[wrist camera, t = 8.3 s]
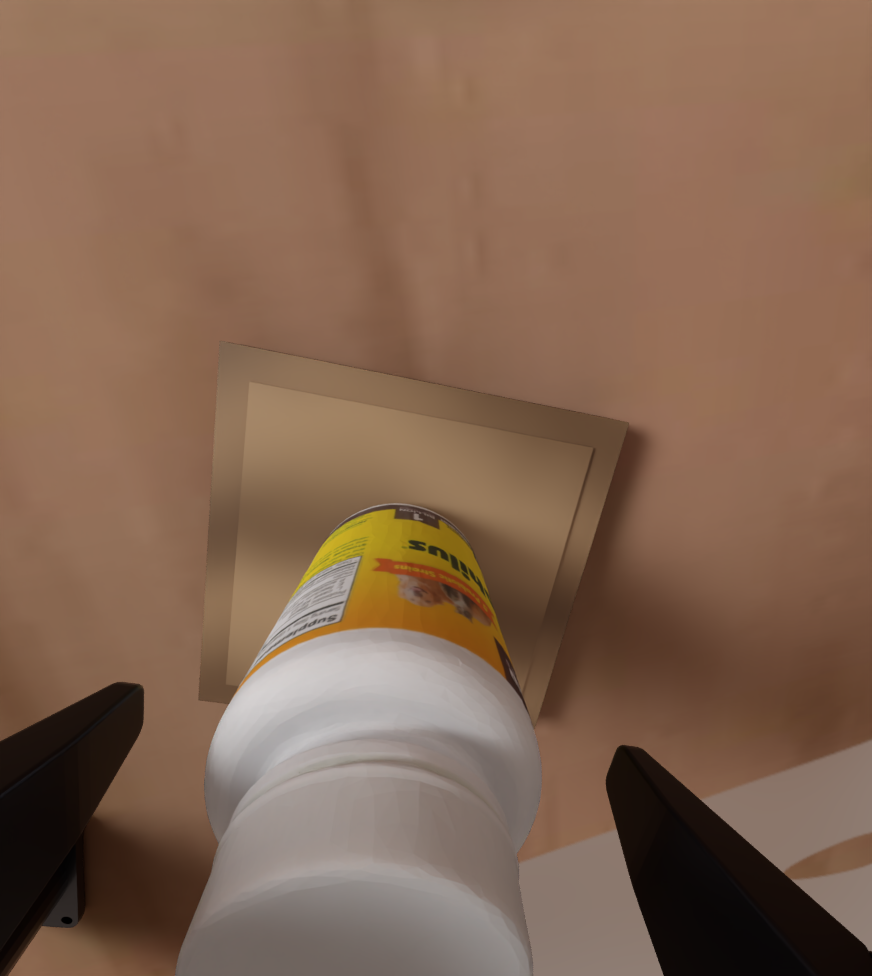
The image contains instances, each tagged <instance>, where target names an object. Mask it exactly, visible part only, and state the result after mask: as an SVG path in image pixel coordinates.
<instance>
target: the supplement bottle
mask: <svg viewBox="0 0 872 976" xmlns="http://www.w3.org/2000/svg"><path fill="white" fill-rule="evenodd" d="M541 786H542V770H541V758H540V753H539V748H538V743H537V739H536V736H535V732H534V728H533V725H532V721H531V718H530V715H529V712H528V709H527V706H526V703H525V701H524V698H523V695H522V692H521V689H520V686H519V683H518V680H517V677H516V674H515V671H514V668H513V665H512V662H511V659H510V656H509V653H508V650H507V647H506V644H505V641H504V638H503V635H502V632H501V629H500V626H499V623H498V620H497V617H496V614H495V611H494V608H493V604H492V602H491V599H490V596H489V592H488V590H487V587H486V584H485V581H484V578H483V575H482V571H481V569H480V566H479V563H478V561H477V558H476V555H475V553H474V551H473V549H472V547H471V545H470V544H469V542H468V540H467V539H466V537H465V536H464V535H463V534H462V532H461V531H460V530H459V529H458V528H457V527H456V526H455V525H453V524H452V523H451V522H450V521H449V520H447V519H446V518H444V517H442V516H441V515H439V514H437V513H435V512H433V511H431V510H428V509H426V508H423V507H420V506H415V505H410V504H402V503H391V504H383V505H377V506H373V507H370V508H367V509H364V510H362V511H359V512H357V513H356V514H354V515H352V516H350V517H349V518H347V519H346V520H344V521H343V522H342V523H340V524H339V525H338V526H337V527H336V528H335V529H334V530H333V531H332V532H331V533H330V535H329V536H328V537H327V538H326V540H325V541H324V543H323V544H322V546H321V547H320V549H319V550H318V552H317V554H316V556H315V558H314V559H313V561H312V563H311V565H310V566H309V568H308V570H307V572H306V573H305V575H304V576H303V578H302V580H301V582H300V583H299V585H298V587H297V588H296V590H295V592H294V593H293V595H292V597H291V598H290V600H289V602H288V604H287V605H286V607H285V609H284V611H283V612H282V614H281V616H280V618H279V619H278V621H277V623H276V624H275V626H274V628H273V629H272V631H271V633H270V635H269V636H268V638H267V640H266V641H265V643H264V645H263V646H262V648H261V650H260V651H259V653H258V655H257V657H256V659H255V660H254V662H253V664H252V665H251V667H250V669H249V671H248V672H247V674H246V675H245V677H244V679H243V680H242V682H241V684H240V685H239V687H238V689H237V691H236V693H235V694H234V696H233V698H232V700H231V701H230V703H229V705H228V707H227V709H226V710H225V712H224V715H223V717H222V719H221V720H220V722H219V724H218V727H217V729H216V732H215V734H214V737H213V739H212V742H211V746H210V749H209V753H208V756H207V761H206V769H205V780H204V791H205V803H206V809H207V814H208V818H209V821H210V824H211V827H212V830H213V832H214V834H215V837H216V839H217V841H218V844H219V845H218V848H217V851H216V854H215V857H214V860H213V865H212V871H211V874H210V877H209V879H208V882H207V884H206V887H205V889H204V892H203V894H202V897H201V899H200V902H199V904H198V907H197V909H196V912H195V914H194V917H193V919H192V922H191V924H190V927H189V929H188V932H187V934H186V937H185V939H184V942H183V944H182V947H181V950H180V953H179V957H178V961H177V966H176V973H175V976H533V960H532V952H531V946H530V941H529V936H528V931H527V926H526V920H525V915H524V910H523V904H522V898H521V892H520V886H519V863H518V858H517V853H518V851H519V850H520V848H521V847H522V845H523V844H524V842H525V840H526V838H527V836H528V834H529V832H530V830H531V827H532V825H533V822H534V820H535V817H536V813H537V810H538V806H539V802H540V795H541Z"/></svg>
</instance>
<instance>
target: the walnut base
mask: <svg viewBox="0 0 872 976" xmlns="http://www.w3.org/2000/svg"><path fill="white" fill-rule="evenodd" d="M628 425H629V423H628V422H623V421H619V420H614V419H610V418H605V417H600V416H595V415H590V414H585V413H580V412H575V411H570V410H565V409H560V408H555V407H550V406H545V405H540V404H535V403H530V402H525V401H520V400H515V399H510V398H505V397H500V396H495V395H490V394H485V393H480V392H475V391H470V390H465V389H460V388H455V387H450V386H445V385H440V384H435V383H430V382H425V381H420V380H415V379H410V378H405V377H400V376H395V375H390V374H385V373H380V372H375V371H370V370H365V369H360V368H355V367H350V366H345V365H340V364H335V363H330V362H325V361H320V360H315V359H310V358H305V357H300V356H295V355H290V354H285V353H280V352H275V351H270V350H265V349H260V348H255V347H250V346H245V345H240V344H234V343H229V342H223V341H220V345H219V362H218V379H217V396H216V413H215V429H214V446H213V463H212V480H211V497H210V514H209V531H208V548H207V565H206V582H205V598H204V615H203V632H202V649H201V666H200V683H199V700H200V701H208V702H217V703H225V704H229V703H230V701H231V700H232V698H233V696H234V694H235V693H236V691H237V689H238V687H239V685H240V684H241V682H242V680H243V679H244V677H245V675H246V674H247V672H248V671H249V669H250V667H251V665H252V664H253V662H254V660H255V659H256V657H257V655H258V653H259V651H260V650H261V648H262V646H263V645H264V643H265V641H266V640H267V638H268V636H269V635H270V633H271V631H272V629H273V628H274V626H275V624H276V623H277V621H278V619H279V618H280V616H281V614H282V612H283V611H284V609H285V607H286V605H287V604H288V602H289V600H290V598H291V597H292V595H293V593H294V592H295V590H296V588H297V587H298V585H299V583H300V582H301V580H302V578H303V576H304V575H305V573H306V572H307V570H308V568H309V566H310V565H311V563H312V561H313V559H314V558H315V556H316V554H317V552H318V550H319V549H320V547H321V546H322V544H323V543H324V541H325V540H326V538H327V537H328V536H329V535H330V533H331V532H332V531H333V530H334V529H335V528H336V527H337V526H338V525H339V524H340V523H342V522H343V521H344V520H346V519H347V518H349V517H350V516H352V515H354V514H356V513H357V512H359V511H362V510H364V509H367V508H370V507H373V506H377V505H383V504H391V503H402V504H410V505H415V506H420V507H423V508H426V509H428V510H431V511H433V512H435V513H437V514H439V515H441V516H442V517H444V518H446V519H447V520H449V521H450V522H451V523H452V524H453V525H455V526H456V527H457V528H458V529H459V530H460V531H461V532H462V534H463V535H464V536H465V537H466V539H467V540H468V542H469V544H470V545H471V547H472V549H473V551H474V553H475V555H476V558H477V561H478V563H479V566H480V569H481V571H482V575H483V578H484V581H485V584H486V587H487V590H488V592H489V596H490V599H491V602H492V604H493V608H494V611H495V614H496V617H497V620H498V623H499V626H500V629H501V632H502V635H503V638H504V641H505V644H506V647H507V650H508V653H509V656H510V659H511V662H512V665H513V668H514V671H515V674H516V677H517V680H518V683H519V686H520V689H521V692H522V695H523V698H524V701H525V703H526V706H527V709H528V712H529V715H530V718H531V721H532V725H533V728H534V729H535V726H536V722H537V719H538V716H539V713H540V709H541V706H542V703H543V700H544V696H545V693H546V690H547V687H548V684H549V680H550V677H551V674H552V671H553V667H554V664H555V661H556V658H557V655H558V651H559V648H560V645H561V642H562V638H563V635H564V632H565V629H566V625H567V622H568V619H569V616H570V613H571V609H572V606H573V603H574V600H575V596H576V593H577V590H578V587H579V584H580V580H581V577H582V574H583V571H584V567H585V564H586V561H587V558H588V554H589V551H590V548H591V545H592V542H593V538H594V535H595V532H596V529H597V525H598V522H599V519H600V516H601V512H602V509H603V506H604V503H605V500H606V496H607V493H608V490H609V487H610V483H611V480H612V477H613V474H614V471H615V467H616V464H617V461H618V458H619V454H620V451H621V448H622V445H623V441H624V438H625V435H626V432H627V429H628Z"/></svg>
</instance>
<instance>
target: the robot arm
mask: <svg viewBox="0 0 872 976" xmlns="http://www.w3.org/2000/svg"><path fill="white" fill-rule="evenodd" d="M143 718H144V689H143V687H142V685H140V684H135V683H127V682H116V683H114V684H111V685H109V686H107V687H105V688H103V689H102V690H100V691H98V692H96V693H94V694H92V695H90V696H88V697H86V698H84V699H82V700H80V701H78V702H76V703H74V704H72V705H70V706H68V707H66V708H64V709H62V710H61V711H59V712H57V713H55V714H53V715H51V716H49V717H47V718H45V719H43V720H41V721H39V722H37V723H35V724H33V725H31V726H29V727H27V728H25V729H23V730H21V731H20V732H18V733H16V734H14V735H12V736H10V737H8V738H6V739H4V740H2V741H0V976H8V975H9V973H10V972H11V970H12V969H13V967H14V966H15V964H16V963H17V962H18V960H19V959H20V957H21V956H22V954H23V953H24V951H25V950H26V948H27V947H28V945H29V944H30V942H31V941H32V940H33V938H34V937H35V935H36V934H37V932H38V931H39V929H40V928H41V926H50V927H64V928H71V927H74V926H76V925H77V924H78V922H79V920H80V919H81V917H82V916H83V914H84V911H85V903H84V867H83V830H84V828H85V827H86V825H87V823H88V822H89V820H90V819H91V817H92V815H93V813H94V812H95V810H96V808H97V807H98V805H99V803H100V801H101V800H102V798H103V796H104V795H105V793H106V791H107V789H108V788H109V786H110V784H111V783H112V781H113V779H114V777H115V776H116V774H117V772H118V770H119V769H120V767H121V765H122V764H123V762H124V760H125V758H126V757H127V755H128V753H129V752H130V750H131V748H132V746H133V745H134V743H135V741H136V740H137V738H138V736H139V734H140V732H141V729H142V726H143ZM606 790H607V794H608V798H609V801H610V805H611V809H612V813H613V816H614V820H615V824H616V828H617V831H618V835H619V839H620V843H621V846H622V850H623V854H624V858H625V861H626V865H627V868H628V872H629V876H630V879H631V882H632V886H633V889H634V892H635V895H636V898H637V901H638V904H639V907H640V910H641V912H642V915H643V918H644V921H645V924H646V926H647V929H648V932H649V935H650V938H651V941H652V944H653V946H654V949H655V952H656V955H657V958H658V961H659V963H660V966H661V969H662V972H663V975H664V976H872V951H868V949H867V947H866V946H865V945H864V944H863V943H862V942H861V941H860V940H859V939H857V938H856V937H855V936H854V935H853V934H852V933H851V932H850V931H848V930H847V929H846V928H845V927H844V926H843V925H842V924H841V923H839V922H838V921H837V920H836V919H835V918H834V917H833V916H831V915H830V914H829V913H828V912H827V911H826V910H825V909H824V908H822V907H821V906H820V905H819V904H818V903H817V902H815V901H814V900H813V899H812V898H811V897H810V896H809V895H808V894H807V893H805V892H804V891H803V890H802V889H801V888H800V887H799V886H797V885H796V884H795V883H794V882H793V881H792V880H791V879H790V878H788V877H787V876H786V875H785V874H784V873H783V872H782V871H780V870H779V869H778V868H777V867H776V866H775V865H774V864H772V863H771V862H770V861H769V860H768V859H767V858H766V857H765V856H763V855H762V854H761V853H760V852H759V851H758V850H757V849H755V848H754V847H753V846H752V845H751V844H750V843H749V842H747V841H746V840H745V839H744V838H743V837H742V836H741V835H739V834H738V833H737V832H736V831H735V830H734V829H733V828H732V827H730V826H729V825H728V824H727V823H726V822H725V821H724V820H723V819H721V818H720V817H719V816H718V815H717V814H716V813H715V812H713V811H712V810H711V809H710V808H709V807H708V806H707V805H705V804H704V803H703V802H702V801H701V800H700V799H699V798H698V797H696V796H695V795H694V794H693V793H692V792H691V791H690V790H689V789H687V788H686V787H685V786H684V785H683V784H682V783H681V782H679V781H678V780H677V779H676V778H675V777H674V776H673V775H672V774H670V773H669V772H668V771H667V770H666V769H665V768H664V767H662V766H661V765H660V764H659V763H658V762H657V761H656V760H655V759H653V758H652V757H651V756H650V755H649V754H648V753H647V752H645V751H644V750H643V749H641V748H639V747H634V746H626V745H621V746H619V747H618V748H617V750H616V752H615V755H614V757H613V760H612V763H611V765H610V768H609V770H608V773H607V776H606Z"/></svg>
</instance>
